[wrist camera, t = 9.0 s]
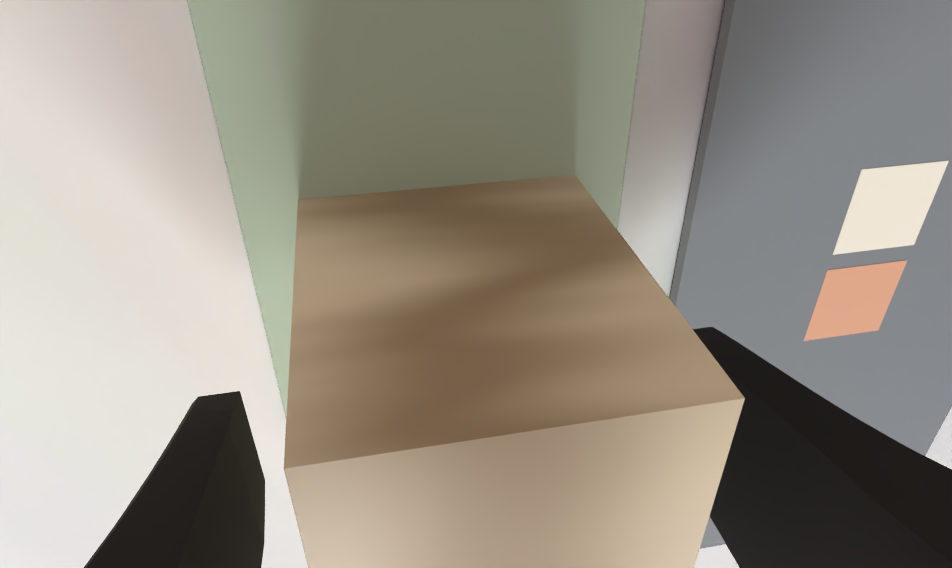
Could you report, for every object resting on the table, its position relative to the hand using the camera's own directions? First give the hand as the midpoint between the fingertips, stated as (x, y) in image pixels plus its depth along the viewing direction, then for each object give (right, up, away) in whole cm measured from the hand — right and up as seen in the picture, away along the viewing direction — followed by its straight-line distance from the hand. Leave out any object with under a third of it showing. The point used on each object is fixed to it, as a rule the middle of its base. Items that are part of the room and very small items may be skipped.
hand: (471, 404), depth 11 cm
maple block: (0, +2, +2) cm, 3 cm away
